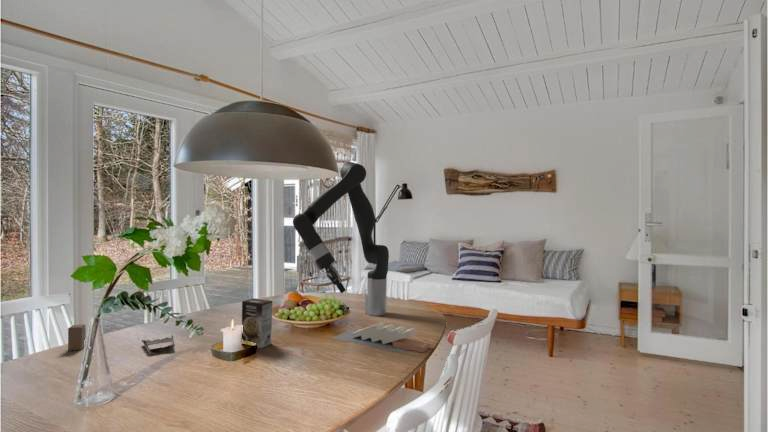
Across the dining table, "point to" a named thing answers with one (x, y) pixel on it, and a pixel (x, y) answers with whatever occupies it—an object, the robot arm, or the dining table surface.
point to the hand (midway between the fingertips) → (343, 291)
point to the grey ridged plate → (367, 341)
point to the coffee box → (257, 321)
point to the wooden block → (76, 337)
